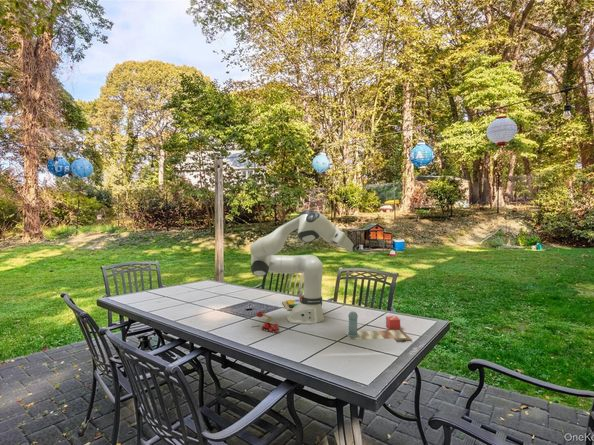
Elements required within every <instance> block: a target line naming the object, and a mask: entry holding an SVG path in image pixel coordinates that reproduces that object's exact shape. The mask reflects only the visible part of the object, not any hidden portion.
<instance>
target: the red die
mask: <svg viewBox="0 0 594 445" xmlns="http://www.w3.org/2000/svg"><path fill="white" fill-rule="evenodd" d="M385 327H386V328H387V330H400V329H401V319H400V318H399V316H396V315H395V316H394V315H392V316H391V315H389V316H385Z"/></svg>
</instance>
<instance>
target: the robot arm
mask: <svg viewBox="0 0 594 445" xmlns="http://www.w3.org/2000/svg"><path fill="white" fill-rule="evenodd" d="M296 230H297V238H298V239H299V240H300V241H302V242H304V243H307V244H309V243H311V242H314V241H316V240H318V239H319V238H320V237H321V238H322V239H323V240H324V241H325V242H326V243H329V244H334V245H336V246H337V247H338V248H339V247H340V248H343V249H345V250H347V251H348V252H352V251H353V250H354V249H353V248H354V246H355V245H354V243H353V241H352V240H351V239H350V238H349V237H348V236H346V235H347V234H346V233H345V232H344V231H342V230H340V229H339V228H338V226H337V227H336V225H335V224H333V223H332V222H330V220H329V219H328V218H327V217H326V216H325V215H324V214H322V213H321V212H319V211H315V210H313V209H305V210H302V211H301V212H300V213H299V214H298V215H296V216H294V217H292V219H290V220H288V221H286V222H284V223H282V224H281V225H278V227H277V228H275V229H274V230H273V231H272V232H271V233H268V234H267V235H265V236H262V237H260V238H258V239H256V240H254V241H253V242H252V243H251V245H250V248H249V250H250V270H251V273H252V274H253V275H254V276H257V277H264V276H266V275H268V273H272V274H284V275H285V274H287V275H288V274H289V275H292V274H293V275H294V274H301V273H303V296H302V295H299V296H298V299H300V303H299V304H297V305H296V306H295V307H293V309H292V310H291V313H290V314H289V315H287V321H288V322H289V323H290V324H298V325H299V324H301V325H303V324H305V325H312V324H318V323H321V322H323V321H325V320H324V319H325V318H324V312H323V296H322V285H323V284H322V282H323V271H324V269H323V268H324V264H323V262H322V261H321V260H320V259H319V258H318V256H316V255H314V254H301V255H298V254H296V255H290V254H289V255H285V254H284V255H283V254H281V255H278V253H280V252H281V251H282V249H283V247H284V246H285V243H286V240H287V239H288V237H289V235H290V234H291V233H292V232H294V231H296Z"/></svg>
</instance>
